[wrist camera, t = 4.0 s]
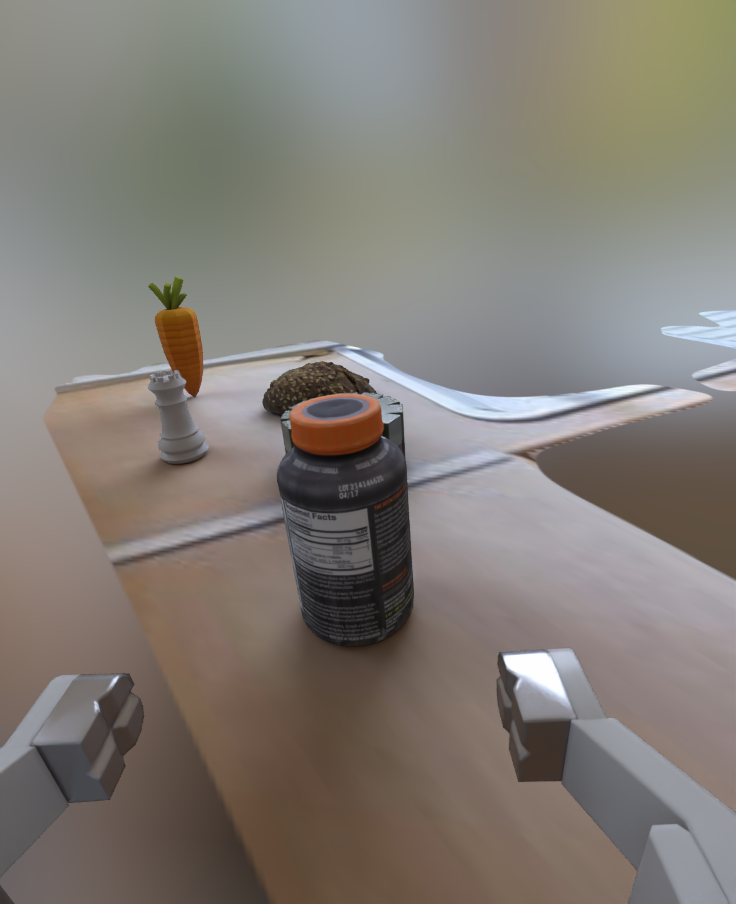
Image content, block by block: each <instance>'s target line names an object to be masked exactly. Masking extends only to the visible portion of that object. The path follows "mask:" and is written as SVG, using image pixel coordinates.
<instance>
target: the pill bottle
mask: <svg viewBox="0 0 736 904" xmlns="http://www.w3.org/2000/svg"><path fill="white" fill-rule="evenodd" d="M289 418H290V425H291V431H292V433H291V437H292V441H293V443H294V448H292V449H291V450H290V451H289V452H288V453H287V454H286V455H285V456H284V458H283V459H282V461H281V463H280V465H279V467H278V472H277V482H278V486H279V491H280V498H281V503H282V509H283V515H284V520H285V525H286V531H287V536H288V541H289V547H290V552H291V558H292V563H293V568H294V574H295V579H296V584H297V589H298V594H299V599H300V605H301V611H302V615H303V618H304V621H305V622H306V624H307V626H308V627H309V628H310V629H311V630H312V632H313V633H315V634H316V635H317V636H319V637H320V638H322V639H324V640H326V641H328V642H331V643H334V644H338V645H348V646H357V645H366V644H371V643H374V642H377V641H380V640H382V639H385V638H387V637H389V636H390V635H391V634H393V633H395V632H396V631H397V630H398V629H400V628H401V627H402V626H403V624H404V623H405V622H406V621H407V619H408V618H409V616H410V614H411V611H412V609H413V598H414V588H413V572H412V557H411V541H410V521H409V506H408V487H407V469H406V461H405V458H404V455H403V453H402V451H401V450H400V449H399V448H398V446H397V445H396V444H394V443H393V442H392V441H391V440H389V439H387V438H385V437H382V432H383V430H384V424H383V421H382V413H381V406H380V403H379V402H378V401H377V400H376V399H375V398H373V397H370V396H366V395H361V394H334V395H327V396H322V397H317V398H313V399H310V400H308V401H305V402H303V403H301V404H299V405H297V406H296V407H294V408H293V409H292V411H291V412H290V415H289Z"/></svg>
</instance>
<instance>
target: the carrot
mask: <svg viewBox="0 0 736 904" xmlns="http://www.w3.org/2000/svg"><path fill="white" fill-rule="evenodd" d="M182 283H183V280H182V279H181V278H180V277H175V279H174V282H173V287H172V292H171V284H170V283H166V284H165V285H164V293H163V294H162V293H161V291H160V290H159V289H158V288H157V286H156V285H154V284H153V283H151V284H150V285H149V286H148V287H149V288H150V289H151V290H152V291H153V292H154V293H155V295H156V296H157V297H158V298H159V299H160V301H161V302H162V303H163V304H164V306H165V307H166V308H167V309H165V310H162V311H160V312H159V313H158V314H157V315H156V316H155V324H156V327H157V331H158V334H159V337H160V340H161V344H162V347H163V350H164V353H165V355H166V358H167V360H168V362H169V365H170V367H171V369H172V371H173V373H174V371H175V370H177V371H179V372H180V376H181V377H182V378H183V379H185V380H186V384H185V386H184V388H185V389H186V391H187V392H188V393H189V394H191V395H192V396H196V395H197V393H198V392H199V388H200V385H201V381H202V374H203V352H202V342H201V337H200V331H199V326H198V320H197V316H196V314H195V312H194V311H193V310H191V309H189V308H182V307H179V305H180V304H181V302H182V301H183V300H184V298H185V297H186V294H185V293H183V294H180V290H181V287H182ZM179 294H180V296H179Z"/></svg>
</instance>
